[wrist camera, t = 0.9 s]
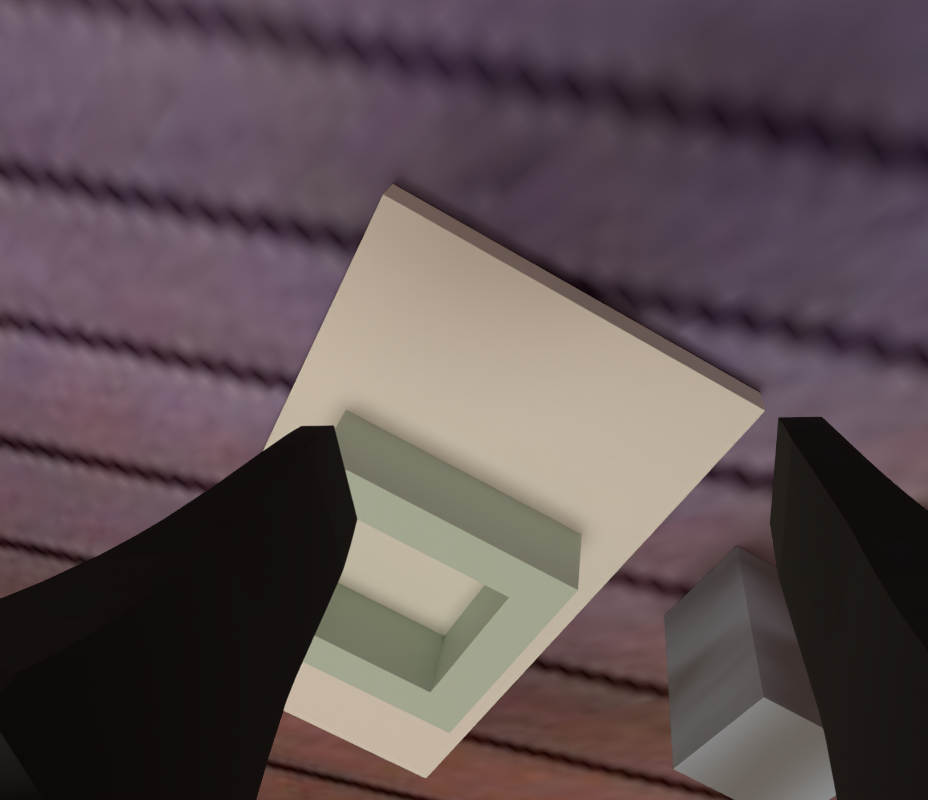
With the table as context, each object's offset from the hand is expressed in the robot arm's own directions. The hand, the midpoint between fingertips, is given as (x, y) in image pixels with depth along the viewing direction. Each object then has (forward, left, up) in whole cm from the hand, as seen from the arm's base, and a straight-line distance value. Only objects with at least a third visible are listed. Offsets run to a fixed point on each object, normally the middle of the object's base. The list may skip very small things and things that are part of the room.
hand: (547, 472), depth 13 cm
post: (-12, +8, -10) cm, 17 cm away
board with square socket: (-1, +12, -10) cm, 16 cm away
